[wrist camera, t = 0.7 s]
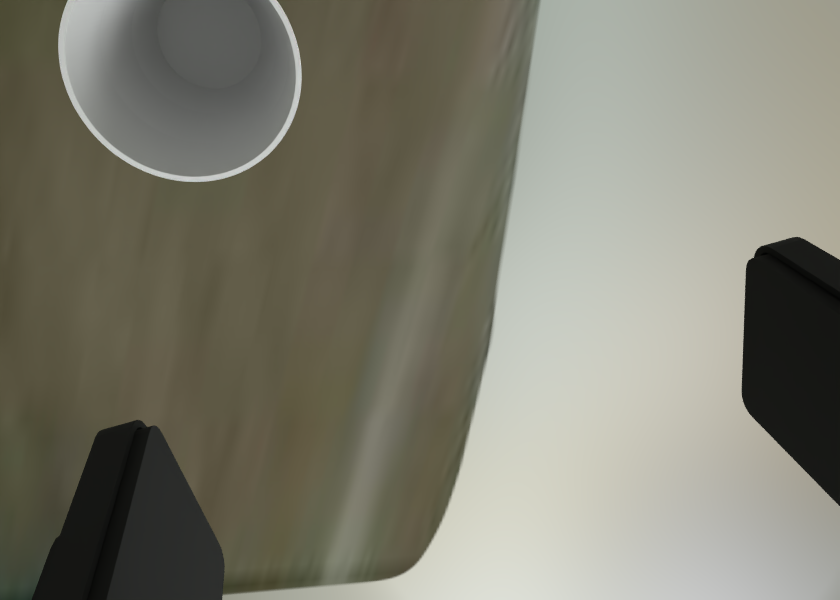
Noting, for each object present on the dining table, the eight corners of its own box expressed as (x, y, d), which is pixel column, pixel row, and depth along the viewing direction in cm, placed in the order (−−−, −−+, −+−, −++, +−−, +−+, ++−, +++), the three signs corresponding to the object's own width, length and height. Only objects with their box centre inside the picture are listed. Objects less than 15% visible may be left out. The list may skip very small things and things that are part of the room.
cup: (128, 116, 34) (75, 178, 25) (109, -70, 30) (40, -73, 22) (295, 124, 35) (300, 185, 27) (297, -51, 32) (302, -48, 23)
